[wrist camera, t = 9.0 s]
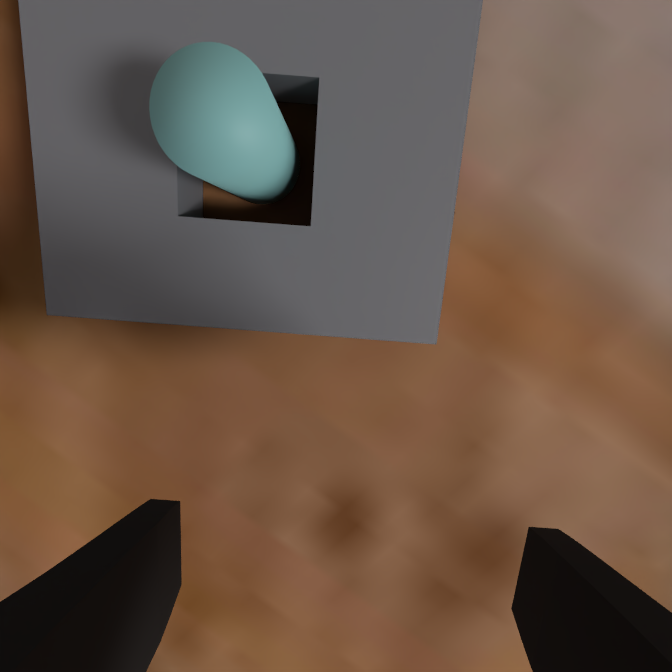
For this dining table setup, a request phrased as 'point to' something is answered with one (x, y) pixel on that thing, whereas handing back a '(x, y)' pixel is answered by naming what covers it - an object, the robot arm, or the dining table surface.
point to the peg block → (187, 190)
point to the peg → (223, 123)
